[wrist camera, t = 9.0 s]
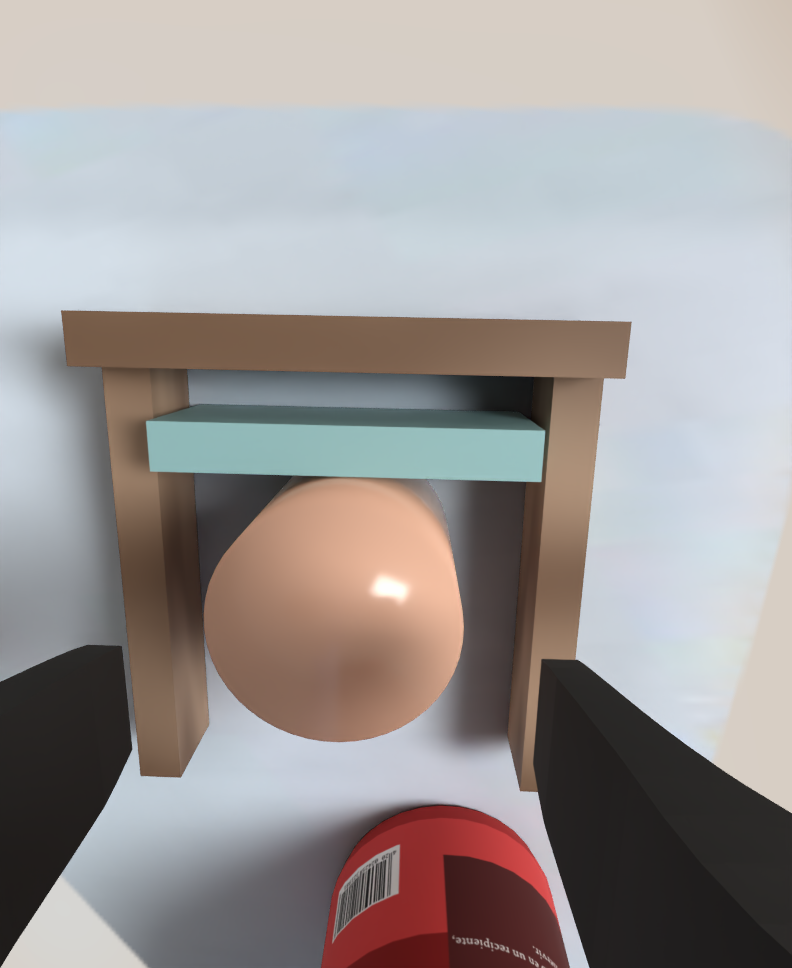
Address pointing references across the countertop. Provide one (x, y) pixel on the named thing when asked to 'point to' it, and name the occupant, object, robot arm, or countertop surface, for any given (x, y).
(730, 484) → the countertop surface
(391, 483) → the tan rounded cylinder
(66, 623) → the countertop surface
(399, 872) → the canned food
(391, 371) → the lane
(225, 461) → the plate
